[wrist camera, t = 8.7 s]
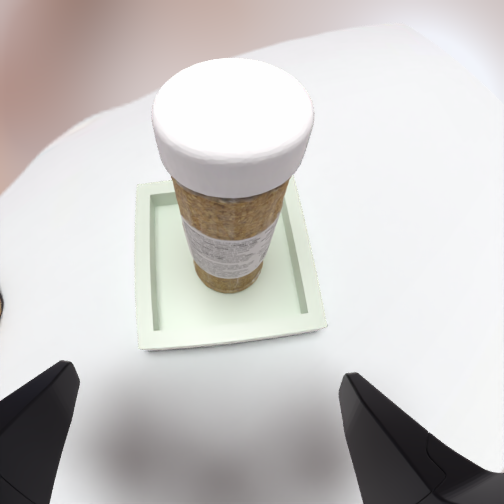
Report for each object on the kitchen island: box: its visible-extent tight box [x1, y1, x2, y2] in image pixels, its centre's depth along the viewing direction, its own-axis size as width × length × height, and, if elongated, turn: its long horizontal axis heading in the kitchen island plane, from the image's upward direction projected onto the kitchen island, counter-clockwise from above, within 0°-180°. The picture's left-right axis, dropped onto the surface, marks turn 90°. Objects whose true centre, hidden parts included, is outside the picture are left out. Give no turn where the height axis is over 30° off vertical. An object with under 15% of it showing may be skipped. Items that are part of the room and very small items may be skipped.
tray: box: [135, 175, 327, 351], centre depth 19 cm, size 11×11×2 cm
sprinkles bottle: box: [152, 58, 314, 293], centre depth 13 cm, size 5×5×14 cm
